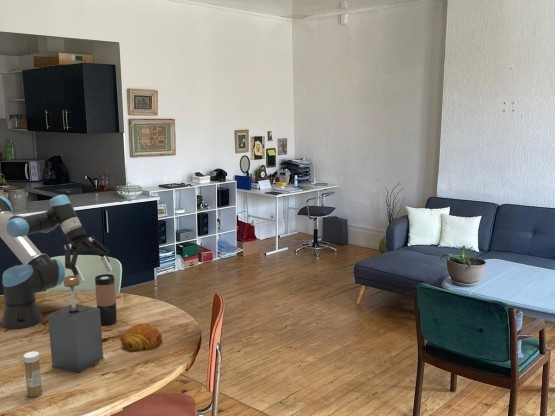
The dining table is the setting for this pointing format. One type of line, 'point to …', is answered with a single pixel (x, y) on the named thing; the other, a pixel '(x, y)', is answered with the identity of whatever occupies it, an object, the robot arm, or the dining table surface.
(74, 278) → the plunger
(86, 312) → the grey peg holder block
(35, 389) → the sprinkles bottle
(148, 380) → the dining table surface
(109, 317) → the travel mug
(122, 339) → the croissant
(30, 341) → the dining table surface
